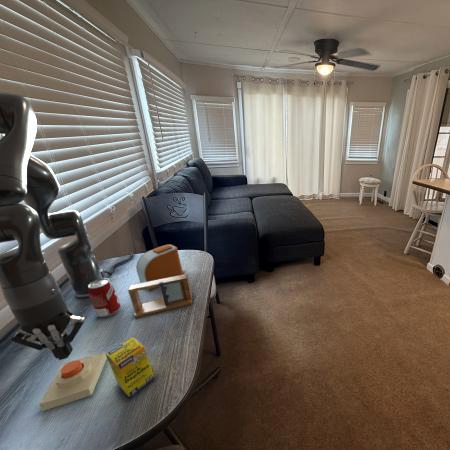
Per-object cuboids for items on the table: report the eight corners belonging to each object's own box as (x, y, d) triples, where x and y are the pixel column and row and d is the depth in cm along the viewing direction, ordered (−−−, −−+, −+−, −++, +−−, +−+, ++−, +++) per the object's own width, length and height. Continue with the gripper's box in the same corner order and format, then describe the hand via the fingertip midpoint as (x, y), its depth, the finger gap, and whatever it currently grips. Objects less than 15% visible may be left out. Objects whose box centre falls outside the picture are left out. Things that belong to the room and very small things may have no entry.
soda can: (108, 319, 80) (97, 290, 76) (92, 317, 82) (80, 288, 77) (125, 306, 87) (116, 278, 82) (110, 304, 88) (100, 276, 84)
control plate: (66, 369, 63) (60, 358, 62) (107, 358, 66) (102, 347, 65) (43, 410, 54) (35, 399, 52) (91, 395, 57) (86, 383, 55)
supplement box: (130, 399, 56) (116, 365, 52) (118, 386, 59) (104, 353, 55) (155, 378, 61) (144, 346, 57) (143, 367, 64) (132, 335, 60)
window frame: (138, 306, 86) (130, 283, 83) (192, 294, 92) (187, 272, 89) (134, 317, 81) (126, 293, 78) (191, 303, 87) (186, 280, 84)
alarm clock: (174, 268, 111) (168, 241, 106) (184, 273, 106) (178, 246, 102) (140, 283, 100) (131, 254, 95) (149, 290, 95) (140, 260, 90)
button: (67, 367, 60) (64, 362, 59) (85, 363, 61) (82, 357, 60) (60, 380, 57) (57, 375, 56) (79, 375, 58) (76, 370, 57)
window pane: (164, 301, 87) (157, 276, 83) (185, 296, 89) (179, 272, 85) (163, 310, 82) (155, 284, 79) (185, 305, 85) (178, 279, 81)
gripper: (81, 280, 56) (104, 336, 62) (6, 294, 52) (38, 353, 58) (65, 298, 50) (93, 359, 56) (-22, 316, 45) (18, 380, 51)
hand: (65, 356), depth 57 cm, fingers closed
